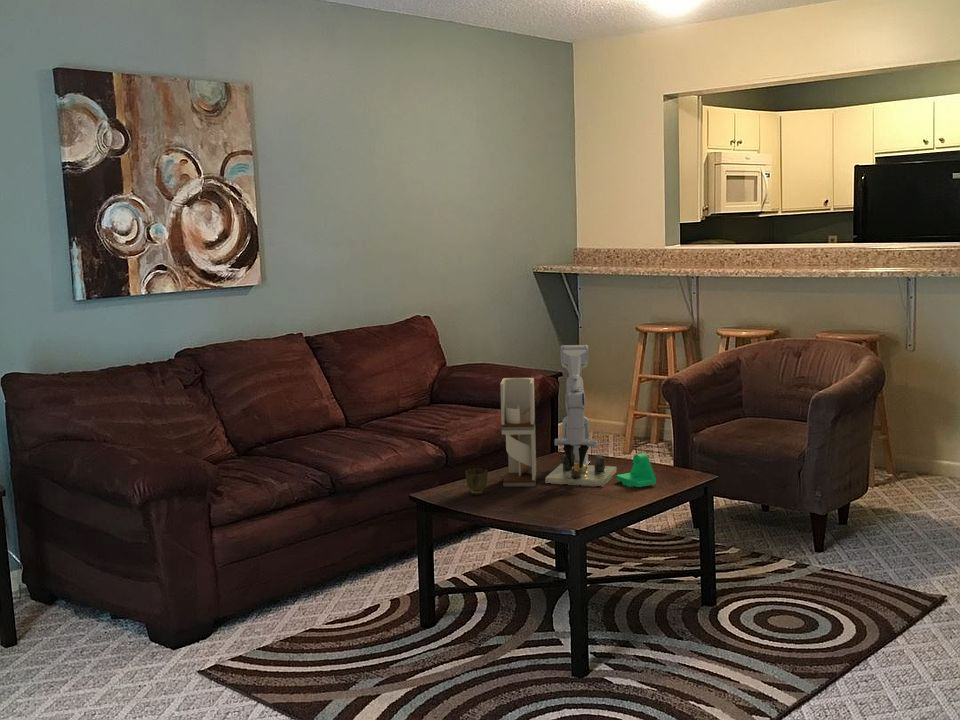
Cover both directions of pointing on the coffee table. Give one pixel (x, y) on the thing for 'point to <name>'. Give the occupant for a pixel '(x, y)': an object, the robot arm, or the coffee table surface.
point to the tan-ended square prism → (576, 470)
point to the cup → (476, 480)
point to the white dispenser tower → (519, 430)
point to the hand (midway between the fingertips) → (576, 466)
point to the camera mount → (639, 473)
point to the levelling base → (590, 473)
